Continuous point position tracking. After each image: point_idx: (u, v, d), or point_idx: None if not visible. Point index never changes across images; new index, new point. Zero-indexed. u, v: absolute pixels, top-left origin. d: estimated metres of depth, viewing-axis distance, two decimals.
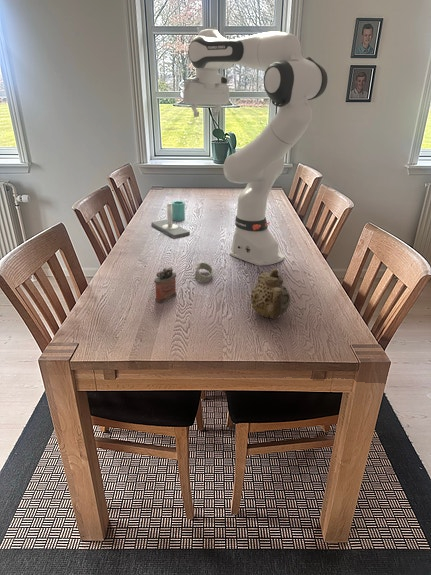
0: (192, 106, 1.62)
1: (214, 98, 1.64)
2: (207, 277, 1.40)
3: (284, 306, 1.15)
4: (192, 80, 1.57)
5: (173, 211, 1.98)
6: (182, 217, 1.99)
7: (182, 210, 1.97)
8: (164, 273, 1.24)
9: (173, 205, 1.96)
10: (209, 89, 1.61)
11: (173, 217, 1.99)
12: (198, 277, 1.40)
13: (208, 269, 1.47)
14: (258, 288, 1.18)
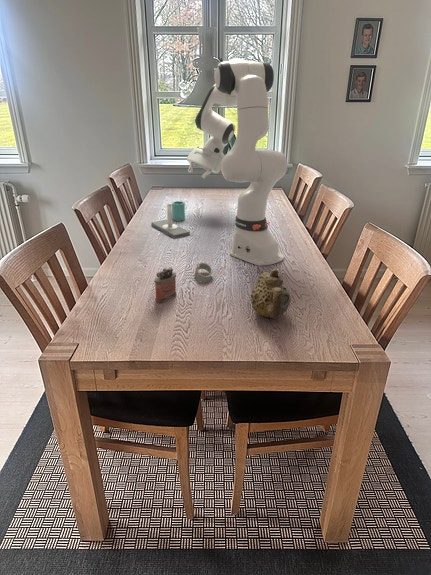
0: None
1: (206, 161, 1.95)
2: (207, 277, 1.39)
3: (284, 306, 1.15)
4: (200, 148, 2.01)
5: (173, 211, 1.98)
6: (182, 217, 1.99)
7: (182, 210, 1.97)
8: (164, 273, 1.24)
9: (173, 205, 1.96)
10: (206, 155, 1.96)
11: (173, 217, 1.99)
12: (198, 277, 1.40)
13: (207, 269, 1.46)
14: (258, 288, 1.18)
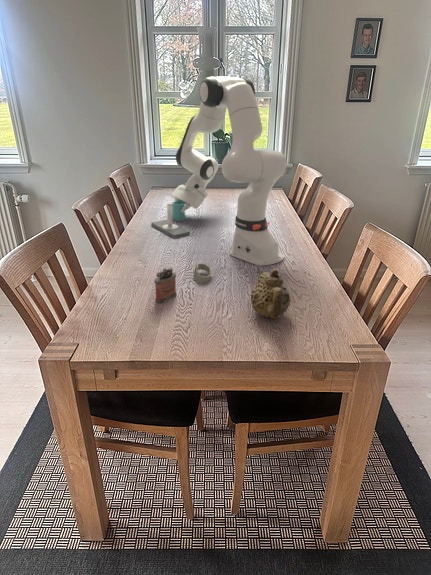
0: None
1: (186, 197, 1.96)
2: (206, 277, 1.39)
3: (284, 306, 1.15)
4: (184, 185, 2.04)
5: (173, 211, 1.98)
6: (182, 217, 1.99)
7: None
8: (164, 273, 1.24)
9: (173, 205, 1.96)
10: (187, 191, 1.98)
11: (173, 217, 1.99)
12: (197, 278, 1.39)
13: (206, 269, 1.46)
14: (258, 288, 1.18)
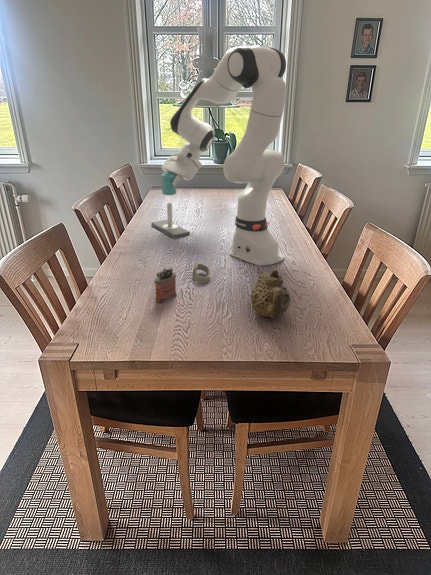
0: None
1: (178, 168, 1.73)
2: (206, 278, 1.39)
3: (284, 306, 1.15)
4: (176, 155, 1.81)
5: (163, 184, 1.75)
6: (173, 191, 1.76)
7: None
8: (164, 273, 1.24)
9: (163, 177, 1.73)
10: (179, 162, 1.75)
11: (163, 191, 1.76)
12: (196, 278, 1.39)
13: (205, 270, 1.46)
14: (258, 288, 1.18)
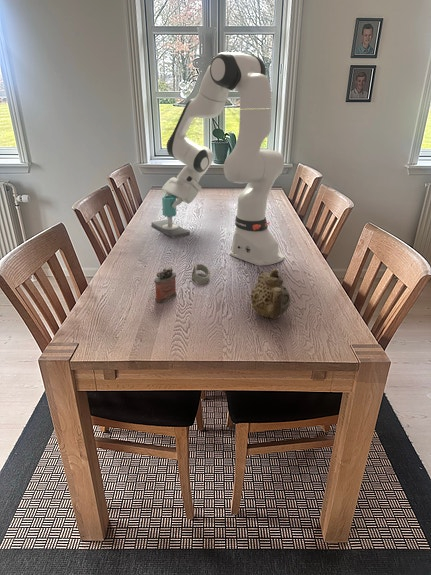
0: None
1: (178, 191, 1.78)
2: (205, 278, 1.39)
3: (284, 306, 1.15)
4: (176, 177, 1.86)
5: (163, 206, 1.79)
6: (173, 213, 1.81)
7: None
8: (164, 273, 1.24)
9: (163, 200, 1.78)
10: (179, 184, 1.80)
11: (163, 213, 1.81)
12: (196, 279, 1.39)
13: (204, 270, 1.46)
14: (258, 288, 1.18)
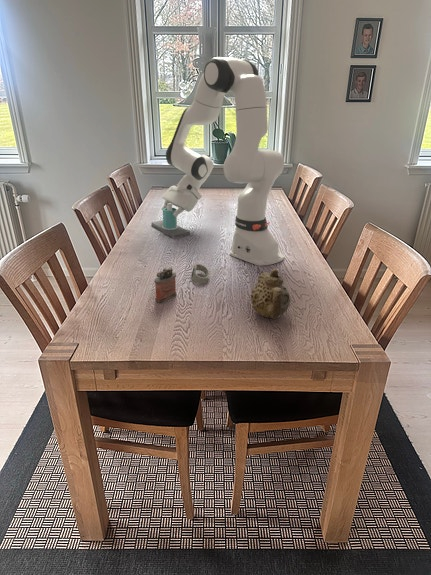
0: None
1: (178, 199, 1.79)
2: (205, 278, 1.39)
3: (284, 306, 1.15)
4: (176, 186, 1.87)
5: (164, 218, 1.82)
6: (174, 225, 1.83)
7: (174, 217, 1.81)
8: (164, 273, 1.24)
9: (164, 212, 1.80)
10: (179, 193, 1.81)
11: (164, 225, 1.83)
12: (196, 279, 1.39)
13: (203, 270, 1.46)
14: (258, 288, 1.18)
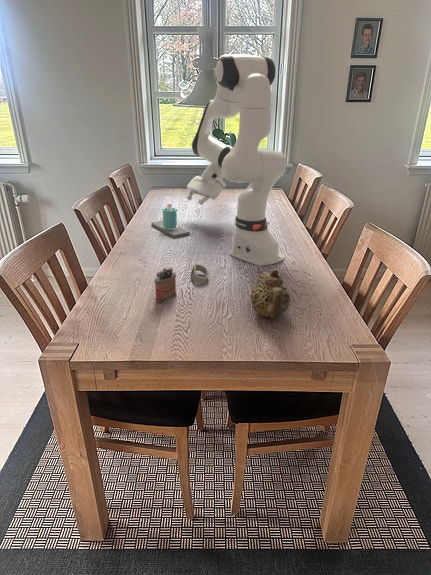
0: None
1: (203, 188, 1.84)
2: (205, 279, 1.38)
3: (284, 306, 1.15)
4: (200, 176, 1.93)
5: (164, 218, 1.82)
6: (174, 225, 1.83)
7: (174, 217, 1.81)
8: (164, 273, 1.24)
9: (164, 212, 1.80)
10: (204, 182, 1.87)
11: (164, 225, 1.83)
12: (195, 279, 1.38)
13: (202, 270, 1.45)
14: (258, 288, 1.18)
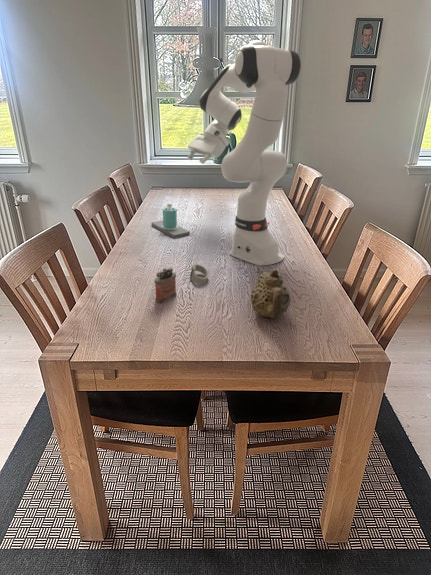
0: None
1: (205, 146, 1.77)
2: (204, 279, 1.38)
3: (284, 306, 1.15)
4: (202, 135, 1.85)
5: (164, 218, 1.82)
6: (174, 225, 1.83)
7: (174, 217, 1.81)
8: (164, 273, 1.24)
9: (164, 212, 1.80)
10: (206, 140, 1.79)
11: (164, 225, 1.83)
12: (195, 279, 1.38)
13: (202, 271, 1.45)
14: (258, 288, 1.18)
